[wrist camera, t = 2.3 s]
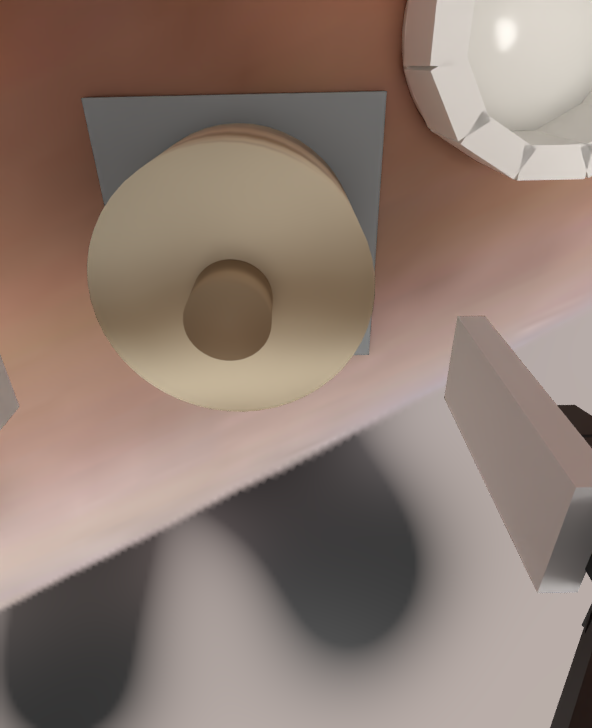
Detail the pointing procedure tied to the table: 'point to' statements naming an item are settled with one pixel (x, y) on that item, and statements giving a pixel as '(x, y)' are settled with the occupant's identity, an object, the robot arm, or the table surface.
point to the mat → (275, 110)
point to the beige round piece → (232, 270)
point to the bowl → (505, 81)
